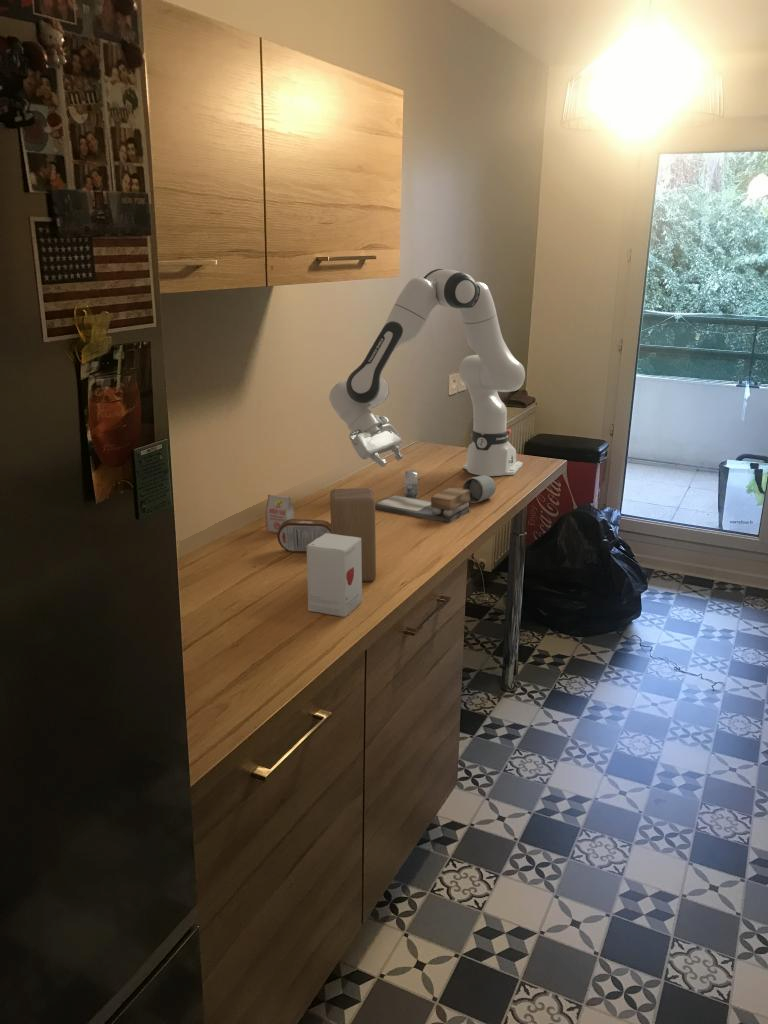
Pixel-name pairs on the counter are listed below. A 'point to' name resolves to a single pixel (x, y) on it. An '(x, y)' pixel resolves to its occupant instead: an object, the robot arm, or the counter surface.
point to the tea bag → (278, 512)
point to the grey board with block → (430, 505)
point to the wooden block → (356, 523)
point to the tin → (301, 533)
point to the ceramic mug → (480, 488)
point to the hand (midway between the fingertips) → (392, 462)
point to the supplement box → (334, 574)
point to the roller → (411, 484)
